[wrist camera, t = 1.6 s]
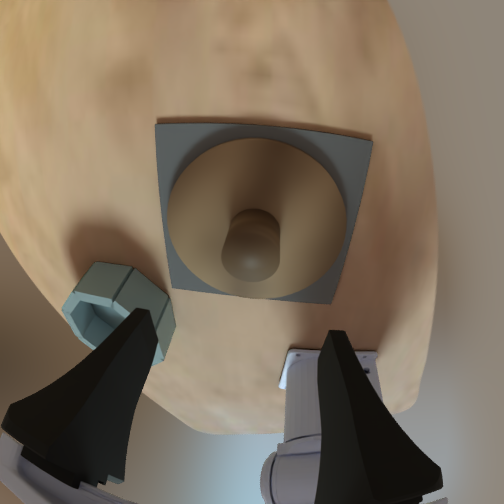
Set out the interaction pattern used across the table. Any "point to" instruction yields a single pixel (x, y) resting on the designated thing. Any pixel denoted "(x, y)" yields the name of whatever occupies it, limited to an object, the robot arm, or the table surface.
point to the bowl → (117, 305)
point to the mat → (312, 142)
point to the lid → (256, 218)
